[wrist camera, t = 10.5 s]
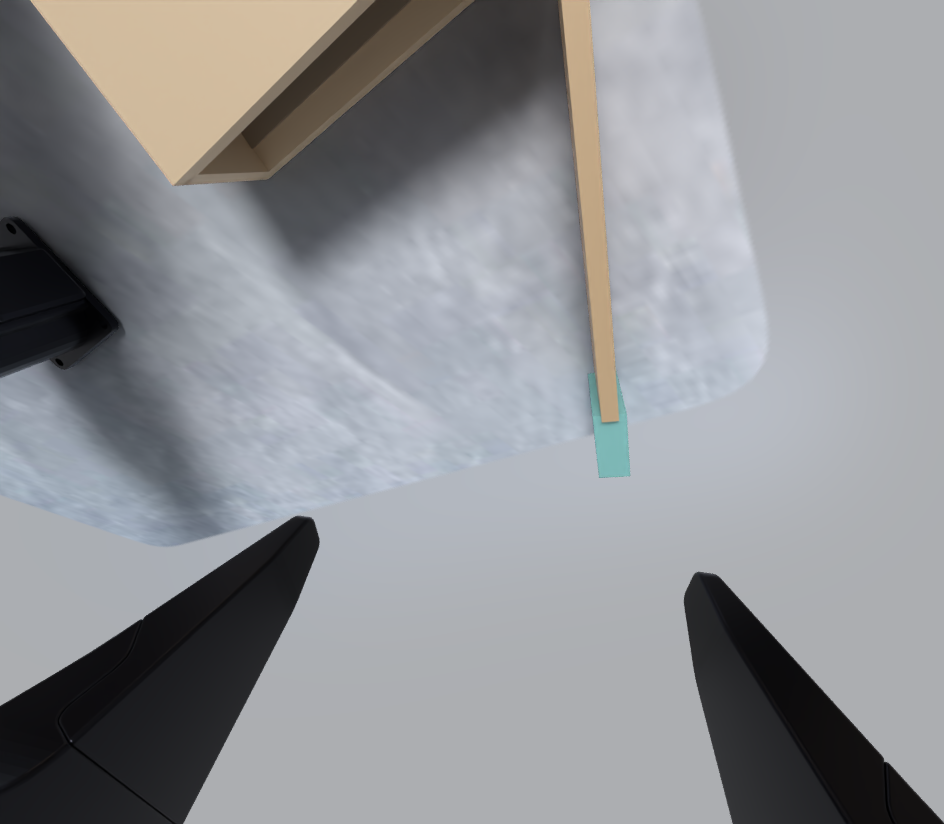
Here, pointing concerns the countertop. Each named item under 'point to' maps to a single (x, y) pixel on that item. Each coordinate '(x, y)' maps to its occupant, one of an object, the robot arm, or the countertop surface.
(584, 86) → the carton flap
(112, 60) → the kraft carton
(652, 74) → the countertop surface
